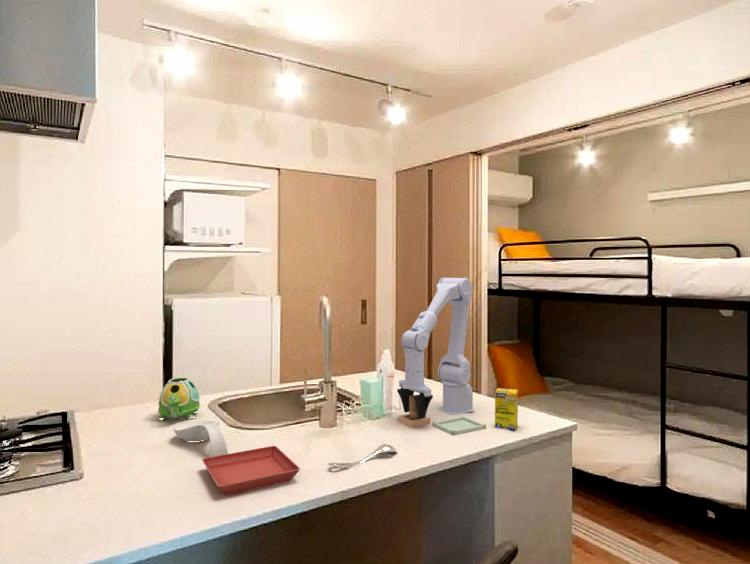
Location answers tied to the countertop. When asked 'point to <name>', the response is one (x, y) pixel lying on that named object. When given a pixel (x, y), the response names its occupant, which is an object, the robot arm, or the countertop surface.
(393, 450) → the silver spork
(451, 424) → the tray
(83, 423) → the countertop surface
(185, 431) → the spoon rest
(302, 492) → the countertop surface
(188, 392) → the turtle holder
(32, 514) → the countertop surface
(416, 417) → the dowel
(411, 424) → the tray
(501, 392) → the supplement box
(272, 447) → the plant saucer
